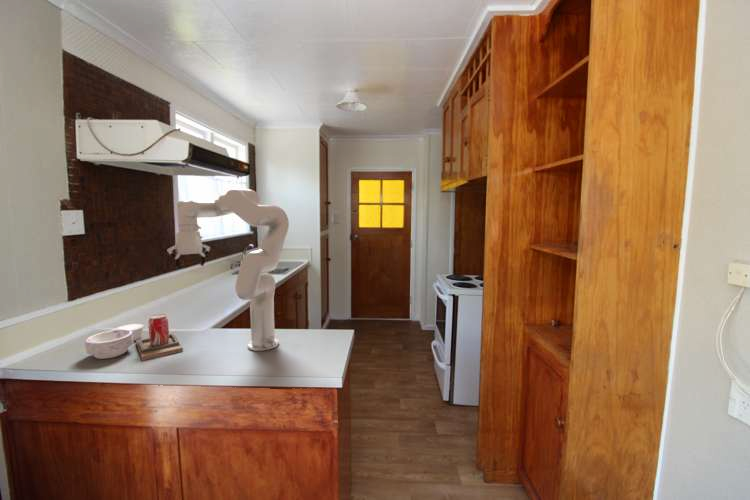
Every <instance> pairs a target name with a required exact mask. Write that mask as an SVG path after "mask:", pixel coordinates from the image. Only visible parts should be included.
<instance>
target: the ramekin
mask: <svg viewBox="0 0 750 500" xmlns="http://www.w3.org/2000/svg"><path fill="white" fill-rule="evenodd" d="M120 329H126V330H131V331H132V332H133V342H134V341H136V340H140V339H142V336H143V332H144V331H143V330H144V324H142V323H129V324H125V325H120V326H117V327H115V328H114V329H113V330H120Z"/></svg>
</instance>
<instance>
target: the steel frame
mask: <svg viewBox="0 0 750 500" xmlns="http://www.w3.org/2000/svg"><path fill="white" fill-rule="evenodd" d="M170 337H172V339H173V341H174V342H173V343H168V344H164V345H159V346H154V347H149V348H144V345H143V343H145V342H150V338H149V337H147V338H148V339H145V338H142V339H143V340H140V339H138V340H139V345H140V348H141V351H142V353H144V352H148V351H153V350H157V349H162V348H167V347H171V346H176V345H179V343H180V341H179V340H178V338H177V336H176V335H175V333H173V334H171V333H169V338H170Z"/></svg>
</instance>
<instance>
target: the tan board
mask: <svg viewBox="0 0 750 500" xmlns="http://www.w3.org/2000/svg"><path fill="white" fill-rule="evenodd" d="M170 334H174V333H173V332H172V333H170ZM148 338H149V337H147V338H139V339H137V340H135V341H136V343H135V344H136V347H137V349H138V352H139V355H140V358H141V361H146V360H151V359H154V358H160V357H164V356H168V355H173V354H177V353H182V352H184V348H183V345H182V344H181V342H179V345H176V346H171V347H167V348H162V349H157V350H153V351H148V352H144V353H142V351H141V348H140V345H139V340H143V339H148ZM173 342H174V341H173V339H172V337H170V338H169V341H168V342H167V343H166V344H168V343H173ZM143 345H144V348H149V347H154V346H153V345H151V344H150V342H145V343H143Z"/></svg>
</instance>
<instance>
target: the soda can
mask: <svg viewBox="0 0 750 500" xmlns="http://www.w3.org/2000/svg"><path fill="white" fill-rule="evenodd" d="M147 323H148V336H149V337H148V338H150V344H151V345H153V346H159V345H164V344H166V343H167V342H168V341H169V334H170V329H169V320H168V317H167V315H166V313H165V314H164V313H162V314H161V313H159V314H154V315H151V316H149V320H148V322H147Z"/></svg>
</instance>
